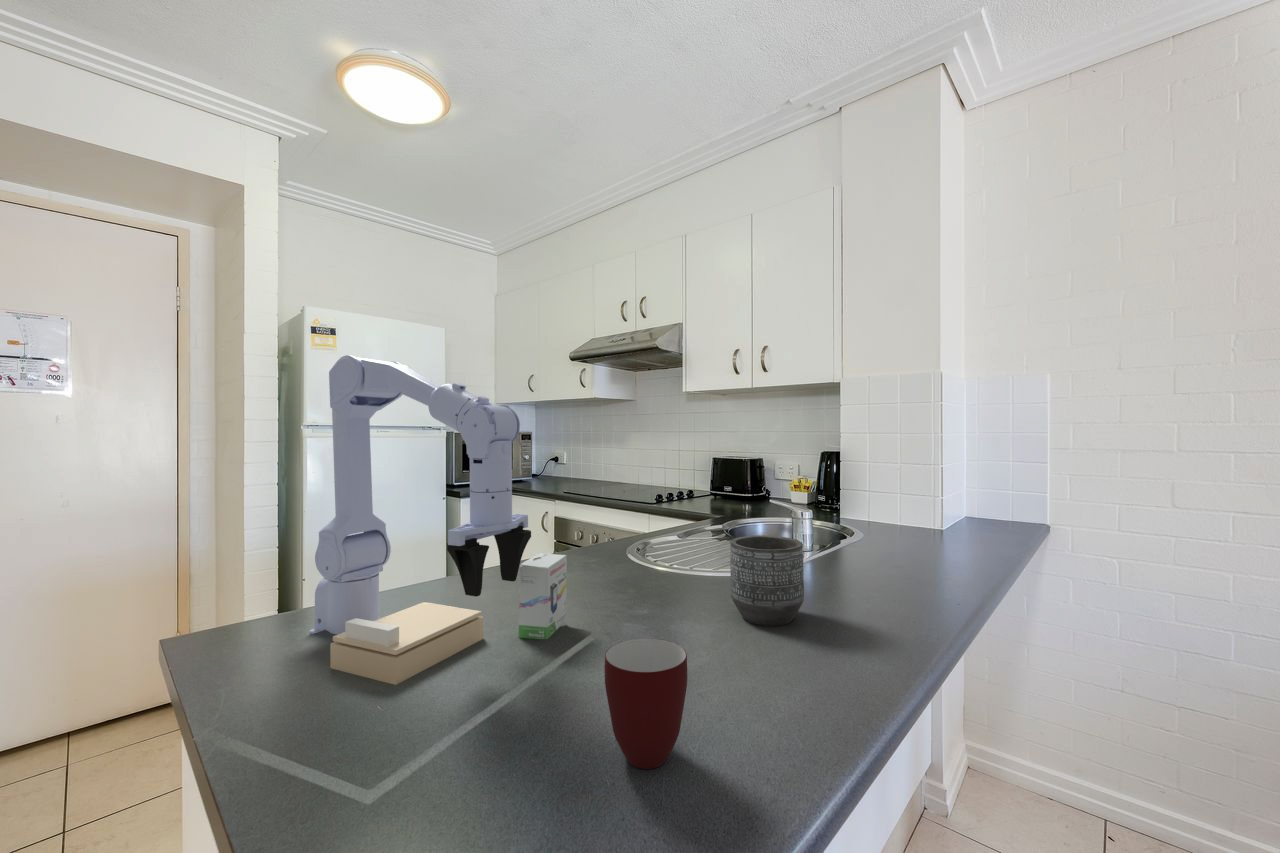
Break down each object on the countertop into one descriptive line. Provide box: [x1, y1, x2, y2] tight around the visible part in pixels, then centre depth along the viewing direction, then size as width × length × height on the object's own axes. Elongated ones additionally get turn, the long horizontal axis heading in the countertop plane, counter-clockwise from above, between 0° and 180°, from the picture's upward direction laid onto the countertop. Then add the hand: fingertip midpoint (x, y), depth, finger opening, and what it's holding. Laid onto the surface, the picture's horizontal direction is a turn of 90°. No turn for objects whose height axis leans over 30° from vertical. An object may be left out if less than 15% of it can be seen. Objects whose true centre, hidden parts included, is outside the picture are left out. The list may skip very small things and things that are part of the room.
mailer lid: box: [332, 601, 482, 655], centre depth 76 cm, size 12×16×3 cm
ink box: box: [518, 552, 568, 640], centre depth 84 cm, size 9×5×12 cm, turn 168°
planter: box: [729, 535, 805, 627], centre depth 91 cm, size 12×12×13 cm
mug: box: [604, 638, 688, 770], centre depth 53 cm, size 10×8×10 cm
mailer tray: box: [329, 616, 485, 686], centre depth 76 cm, size 12×16×4 cm
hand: (491, 587), depth 75 cm, fingers open, 7 cm apart
